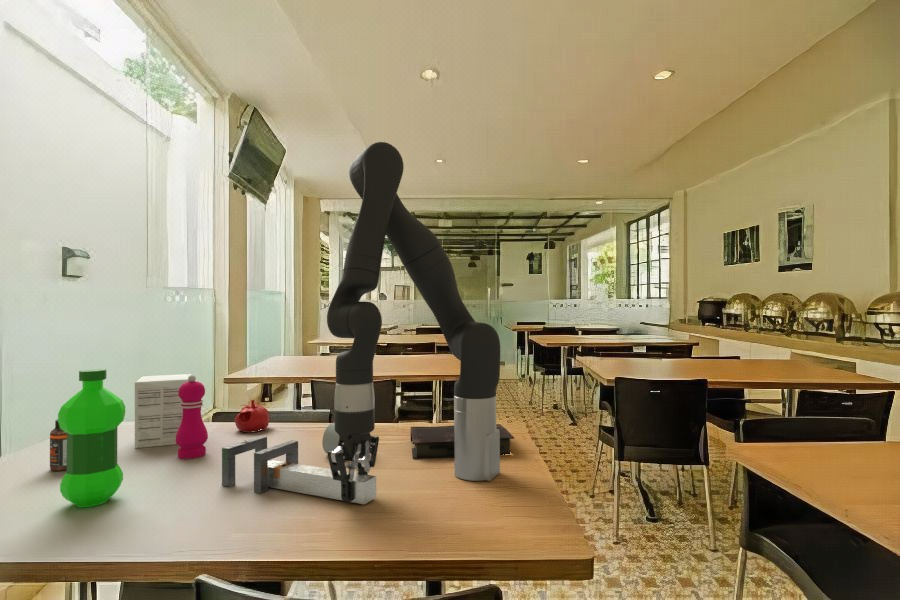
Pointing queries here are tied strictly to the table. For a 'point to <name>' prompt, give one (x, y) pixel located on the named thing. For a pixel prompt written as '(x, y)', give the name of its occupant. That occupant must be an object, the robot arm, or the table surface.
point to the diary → (445, 442)
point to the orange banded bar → (318, 481)
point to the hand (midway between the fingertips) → (354, 496)
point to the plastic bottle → (91, 441)
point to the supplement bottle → (58, 449)
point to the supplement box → (158, 409)
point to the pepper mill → (191, 421)
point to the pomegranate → (252, 418)
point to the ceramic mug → (330, 438)
